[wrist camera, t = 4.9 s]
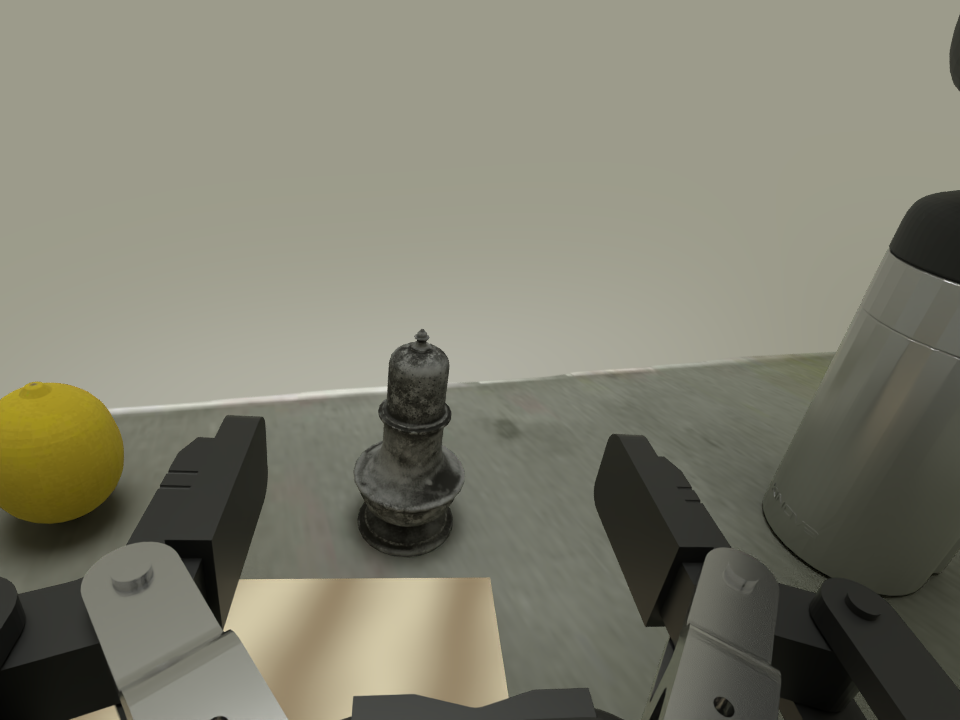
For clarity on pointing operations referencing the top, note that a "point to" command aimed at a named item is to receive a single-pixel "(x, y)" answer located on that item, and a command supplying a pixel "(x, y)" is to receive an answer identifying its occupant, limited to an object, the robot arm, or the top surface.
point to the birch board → (367, 641)
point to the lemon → (56, 453)
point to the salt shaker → (410, 457)
